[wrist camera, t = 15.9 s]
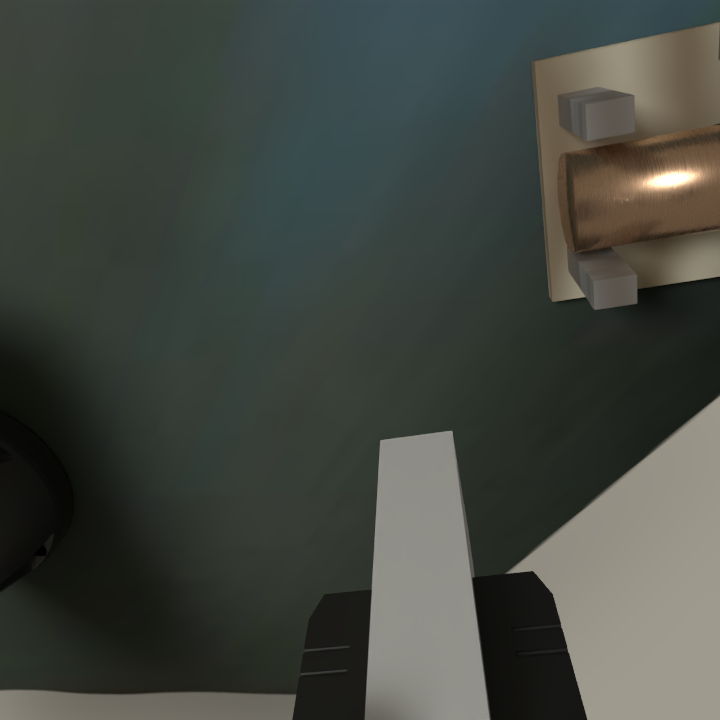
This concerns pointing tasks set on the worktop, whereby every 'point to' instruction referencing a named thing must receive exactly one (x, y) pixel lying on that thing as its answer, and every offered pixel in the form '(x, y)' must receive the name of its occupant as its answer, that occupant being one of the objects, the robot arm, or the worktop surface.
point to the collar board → (619, 124)
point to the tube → (640, 189)
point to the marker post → (719, 45)
